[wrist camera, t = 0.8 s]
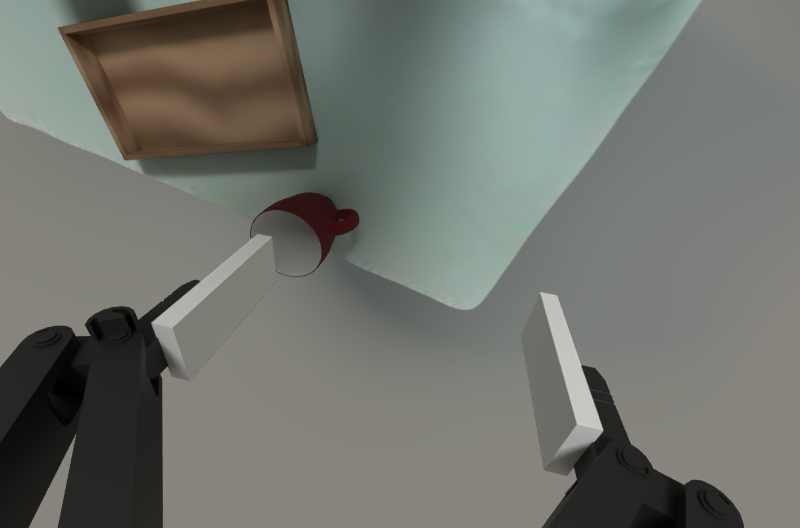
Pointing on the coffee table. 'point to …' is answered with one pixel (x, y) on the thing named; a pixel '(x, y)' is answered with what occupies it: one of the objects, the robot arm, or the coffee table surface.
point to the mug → (303, 231)
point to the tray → (196, 78)
